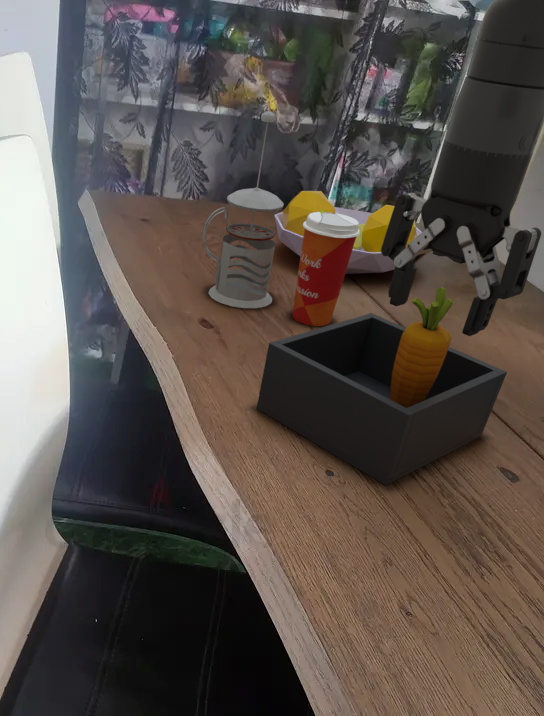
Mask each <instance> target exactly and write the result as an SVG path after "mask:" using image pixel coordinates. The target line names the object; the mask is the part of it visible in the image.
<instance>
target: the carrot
mask: <svg viewBox="0 0 544 716" xmlns="http://www.w3.org/2000/svg"><path fill="white" fill-rule="evenodd" d="M411 303H412V304H413V305H414V306H415V307H417V310H418V311H419V313H420V315H421V319H422V321H414V322H412V323H410V324H409V325H408V326H407V327H405V328H406V329H405V331H404V332H403V334H402V336H401V340H400V343H399V347H398V351H397V354H396V359H395V363H394V367H393V372H392V381H391V393H390V399H391V400H392V401H394V402H396V403H398V404H400V405H401V406H403V407H405V408H408V407H410V406H413V405H415V404H417V403H420V402H422V401H424V399H425V398H426V396H427V394H428V393H429V391H430V389H431V387H432V386H433V384H434V382H435V380H436V378H437V376H438V374H439V371H440V369H441V367H442V364H443V362H444V359H445V356H446V354H447V351H448V348H449V347H451V343H452V335H451V333H450V332H449V331H447V330H446V329H445V328H444V327H442V325H440V324H439V323H440V322H441V321H442V320H443V319H444V317H445V316H446V314H447V313H448V312H449V310H450V309H451V307H452V306H453V304H454V302H453V300H452V299H451V298H447V288H444V287H443V286H442V287H437V288H436V293H435V300H434V301H431V304H430V305H428V307H426V305H425V303H424V302H423V301H422V300H421V299H420V298H418V297H414V298H412V300H411Z"/></svg>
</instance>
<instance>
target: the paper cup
mask: <svg viewBox="0 0 544 716" xmlns="http://www.w3.org/2000/svg"><path fill="white" fill-rule="evenodd" d="M321 214H322V215H321ZM358 226H359V223H358V221H357V220H356V219H354V218H352V217H349V216H346V215H342V214H337V213H335V214H332V213H327V212H324V213H320V212H314V213H310V214H309V215H308V217H307V220H306V221H305V222H304V223H303V227H304V228H305V230H304V236H303V243H302V250H301V257H300V256H299V257H300V259H299V264H298V271H297V277H296V284H295V285H296V286H295V291H294V292H295V293H294V299H293V300H294V301H293V307H292V318H293V319H294V320H295V321H296V322H299V323H300V324H304V325H307V326H313V327H325V326H328V325H330V323H331V321H332V318H333V315H334V313H335V309H336V305H337V302H338V298H339V296H340V293H341V289H342V286H343V284H344V283H343V282H344V280H345V276H346V274H345V273H346V270H347V266H348V263H349V260H350V256H351V253H352V250H353V246H354V243H355V240H356V236H358V235H359V234H360V232H359V229H358Z"/></svg>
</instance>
